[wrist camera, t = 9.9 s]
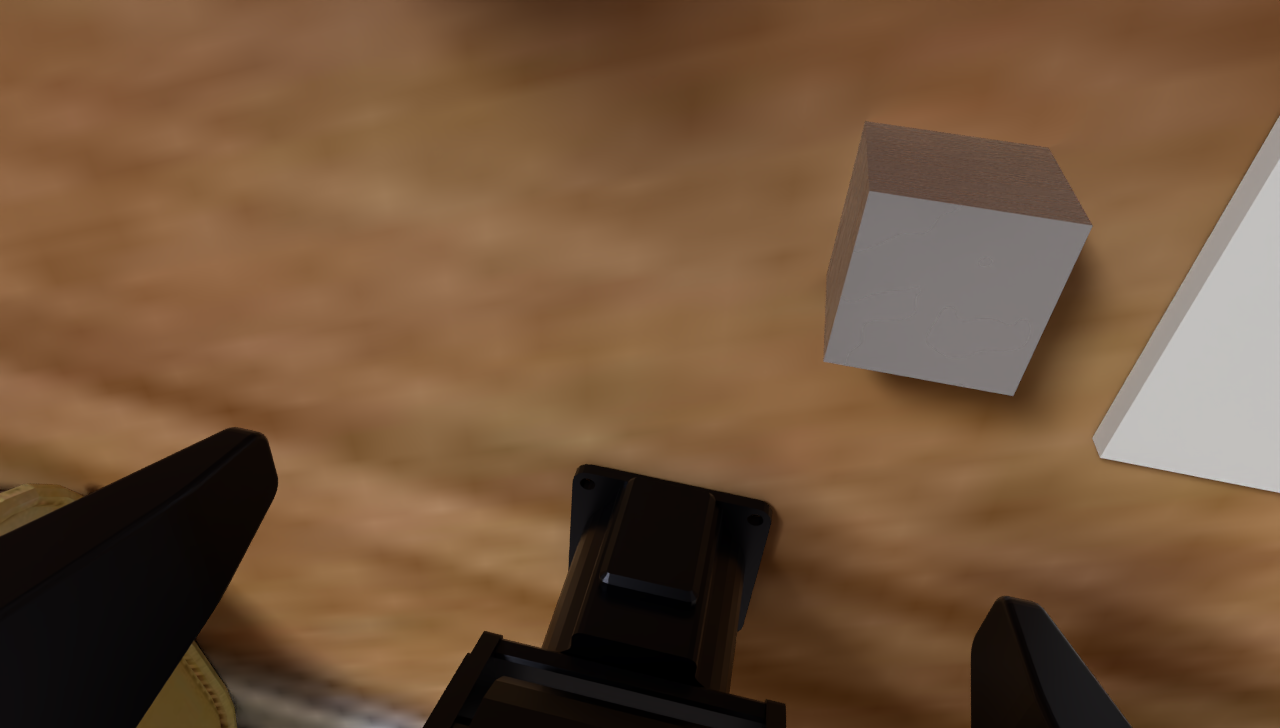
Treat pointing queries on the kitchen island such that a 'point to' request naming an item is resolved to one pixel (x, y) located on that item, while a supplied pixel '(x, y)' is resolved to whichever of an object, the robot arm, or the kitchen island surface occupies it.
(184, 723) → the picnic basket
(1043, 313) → the grey metal block
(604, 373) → the kitchen island surface
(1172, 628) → the kitchen island surface
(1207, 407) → the cream tile
